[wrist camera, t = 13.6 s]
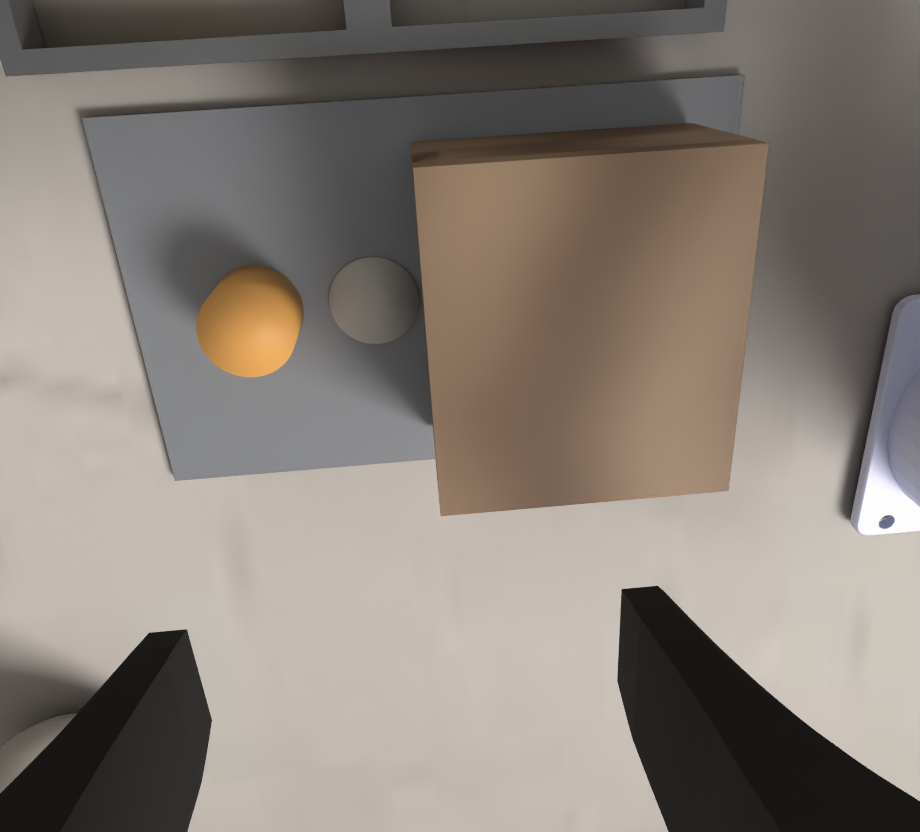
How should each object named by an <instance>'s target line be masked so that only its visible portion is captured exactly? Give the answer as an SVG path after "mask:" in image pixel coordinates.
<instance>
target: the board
mask: <svg viewBox="0 0 920 832" xmlns="http://www.w3.org/2000/svg"><path fill="white" fill-rule="evenodd" d="M743 84H744V75H730V76H715V77H699V78H684V79H669V80H653V81H638V82H623V83H607V84H592V85H577V86H561V87H546V88H530V89H515V90H500V91H484V92H469V93H454V94H438V95H423V96H408V97H392V98H377V99H362V100H346V101H331V102H316V103H300V104H285V105H270V106H254V107H239V108H224V109H208V110H193V111H178V112H162V113H147V114H132V115H116V116H101V117H85V118H82V121H83V125H84V129H85V133H86V137H87V141H88V145H89V149H90V152H91V156H92V160H93V164H94V168H95V172H96V176H97V180H98V184H99V187H100V191H101V195H102V199H103V203H104V207H105V211H106V215H107V219H108V222H109V226H110V230H111V234H112V238H113V242H114V246H115V250H116V254H117V257H118V261H119V265H120V269H121V273H122V277H123V281H124V285H125V289H126V292H127V296H128V300H129V304H130V308H131V312H132V316H133V320H134V324H135V327H136V331H137V335H138V339H139V343H140V347H141V351H142V355H143V359H144V362H145V366H146V370H147V374H148V378H149V382H150V386H151V390H152V394H153V397H154V401H155V405H156V409H157V413H158V417H159V421H160V425H161V429H162V432H163V436H164V440H165V444H166V448H167V452H168V456H169V460H170V464H171V467H172V471H173V475H174V479H175V481H179V480H191V479H202V478H214V477H226V476H238V475H250V474H262V473H273V472H285V471H297V470H309V469H321V468H332V467H344V466H356V465H368V464H380V463H392V462H403V461H415V460H427V459H436V457H435V446H434V435H433V423H432V406H431V394H430V381H429V369H428V356H427V344H426V331H425V319H424V306H423V294H422V282H421V269H420V257H419V244H418V232H417V219H416V207H415V194H414V182H413V173H412V162H411V150H410V142H415V141H430V140H444V139H459V138H474V137H489V136H504V135H518V134H533V133H548V132H563V131H578V130H592V129H607V128H622V127H637V126H652V125H666V124H681V123H694V124H698V125H702V126H706V127H709V128H713V129H717V130H721V131H725V132H728V133H732V134H736V135H739V125H740V114H741V104H742V94H743Z"/></svg>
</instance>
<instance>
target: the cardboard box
mask: <svg viewBox="0 0 920 832" xmlns="http://www.w3.org/2000/svg"><path fill="white" fill-rule="evenodd" d="M768 148H769V143H766V142H762V141H758V140H755V139H751V138H747V137H743V136H740V135H736V134H732V133H728V132H725V131H721V130H717V129H713V128H709V127H706V126H702V125H698V124H694V123H681V124H666V125H652V126H637V127H622V128H607V129H592V130H578V131H563V132H548V133H533V134H518V135H504V136H489V137H474V138H459V139H444V140H430V141H415V142H410V150H411V162H412V173H413V182H414V194H415V207H416V219H417V232H418V244H419V257H420V269H421V282H422V294H423V306H424V319H425V331H426V344H427V356H428V369H429V381H430V394H431V406H432V423H433V435H434V446H435V457H436V469H437V480H438V491H439V502H440V513H441V516H448V515H459V514H471V513H482V512H493V511H505V510H516V509H528V508H539V507H550V506H562V505H573V504H585V503H596V502H608V501H619V500H630V499H642V498H653V497H665V496H676V495H687V494H699V493H710V492H722V491H729V482H730V474H731V465H732V457H733V448H734V440H735V431H736V422H737V414H738V405H739V397H740V388H741V380H742V371H743V362H744V354H745V345H746V337H747V328H748V319H749V311H750V302H751V294H752V285H753V277H754V268H755V259H756V251H757V242H758V234H759V225H760V217H761V208H762V199H763V191H764V182H765V174H766V165H767V156H768Z"/></svg>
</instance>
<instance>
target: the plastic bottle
mask: <svg viewBox="0 0 920 832" xmlns="http://www.w3.org/2000/svg"><path fill="white" fill-rule="evenodd" d="M76 714H77V713H75V714H65V715H61V716H57V717H53V718H49V719H47V720H45V721H43V722H40V723H38V724H36V725H34V726H32V727H30V728H28V729H26V730H24V731H22V732H20V733H18V734H16V735H15V736H14V737H12V738H11V739H10V740H8V741H7V742H5V744H4V745H3V746H2V747H1V748H0V793H1V792H2V791H3V790H4V789H5V788H6V787H7V786H8V785H9V784H10V783H11V782H12V781H13V780H14V779H15V778H16V777H17V776H18V775H19V774H20V773H21V772H22V771H23V770H24V769H25V768H26V767H27V766H28V765H29V764H30V763H31V762H32V761H33V760H34V759H35V758H36V757H37V756H38V755H39V754H40V753H41V752H42V751H43V750H44V749H45V748H46V747H47V746H48V745H49V744H50V743H51V742H52V741H53V739H54V738H55V737H56V736H57V735H58V734H59V733H60V732H61V731H62V730H63V729H64V728H65V726H66V725H67V724H68V723H69V722H70V721H71V720H72V719H73V718H74V717H75V715H76Z"/></svg>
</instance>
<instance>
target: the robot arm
mask: <svg viewBox="0 0 920 832" xmlns="http://www.w3.org/2000/svg"><path fill="white" fill-rule="evenodd" d="M884 516H887V517H886V518H885V519H884V520H883V521H880V519H881V518H883V517H884ZM879 521H880V522H879ZM851 525H852V526H853V528H854V529H855V530H856V531H857V532H858V533H860V534H862V535H878V534H889V533H900V532H911V531H920V294H919V295H911V296H907V297H905V298H904V299H902V300H901V301H899V303H898V304H897V305H896V306H895V308H894V311H893V313H892V318H891V323H890V328H889V333H888V338H887V343H886V347H885V352H884V357H883V362H882V367H881V372H880V377H879V382H878V387H877V392H876V397H875V402H874V406H873V411H872V416H871V421H870V426H869V431H868V436H867V441H866V446H865V451H864V456H863V461H862V466H861V470H860V475H859V480H858V485H857V490H856V495H855V500H854V505H853V510H852V515H851ZM617 681H618V685H619V689H620V693H621V697H622V701H623V705H624V709H625V712H626V716H627V720H628V724H629V727H630V731H631V735H632V738H633V741H634V744H635V746H636V749H637V752H638V754H639V757H640V759H641V762H642V765H643V767H644V770H645V772H646V775H647V778H648V780H649V783H650V785H651V788H652V790H653V793H654V796H655V798H656V801H657V803H658V806H659V808H660V811H661V813H662V816H663V818H664V821H665V824H666V826H667V829H668V831H669V832H920V801H918V800H917V799H915V798H914V797H912V796H910V795H909V794H907V793H906V792H904V791H902V790H901V789H899V788H898V787H896V786H895V785H893V784H891V783H890V782H888V781H887V780H885V779H883V778H882V777H880V776H879V775H877V774H876V773H874V772H873V771H871V770H870V769H868V768H867V767H865V766H864V765H862V764H861V763H859V762H858V761H856V760H855V759H853V758H852V757H851V756H849V755H848V754H847V753H845V752H844V751H842V750H841V749H840V748H838V747H837V746H836V745H834V744H833V743H831V742H830V741H829V740H827V739H826V738H824V737H823V736H822V735H820V734H819V733H818V732H816V731H815V730H814V729H812V728H811V727H810V726H808V725H807V724H806V723H805V722H803V721H802V720H801V719H800V718H798V717H797V716H796V715H795V714H793V713H792V712H791V711H790V710H789V709H788V708H786V707H785V706H784V705H783V704H782V703H780V702H779V701H778V700H777V699H776V698H774V697H773V696H772V695H771V694H770V693H769V692H767V691H766V690H765V689H764V688H763V687H762V686H761V685H759V684H758V683H757V682H756V681H755V680H754V679H753V678H752V677H750V676H749V675H748V674H747V673H746V672H745V671H744V670H743V669H742V668H741V667H740V666H739V665H738V664H736V663H735V662H734V661H733V660H732V659H731V658H730V657H729V656H728V655H727V654H726V653H725V652H724V651H723V650H722V649H720V648H719V647H718V646H717V645H716V644H715V643H714V642H713V641H712V640H711V639H710V638H709V637H708V636H707V635H706V634H705V633H704V632H703V631H702V630H701V629H700V628H699V627H698V626H697V625H696V624H695V623H694V622H693V621H692V620H691V619H690V618H689V617H688V616H687V615H686V614H685V613H684V612H683V611H682V609H681V608H680V607H679V606H678V605H677V604H676V603H675V602H674V601H673V600H672V599H671V598H670V597H669V596H668V595H667V594H666V593H665V592H664V591H663V590H662V589H661V588H660V587H658V586H652V587H641V588H630V589H622V595H621V616H620V637H619V658H618V680H617ZM211 722H212V719H211V715H210V712H209V708H208V704H207V701H206V697H205V694H204V690H203V686H202V683H201V679H200V676H199V672H198V668H197V665H196V661H195V658H194V654H193V650H192V647H191V643H190V639H189V636H188V632H187V630H176V631H165V632H154V633H149V634H148V635H147V636H146V637H145V638H144V639H143V640H142V641H141V643H140V644H139V645H138V646H137V647H136V648H135V649H134V650H133V651H132V652H131V654H130V655H129V656H128V657H127V658H126V659H125V660H124V662H123V663H122V664H121V665H120V666H119V667H118V668H117V670H116V671H115V672H114V673H113V674H112V675H111V676H110V677H109V679H108V680H107V681H106V682H105V683H104V684H103V685H102V687H101V688H100V689H99V690H98V691H97V692H96V693H95V694H94V696H93V697H92V698H91V699H90V700H89V701H88V702H87V703H86V705H85V706H84V707H83V708H82V709H81V710H80V711H79V712H78V713H77V714H76V715H75V717H74V718H73V719H72V720H71V721H70V722H69V723H68V724H67V725H66V726H65V728H64V729H63V730H62V731H61V732H60V733H59V734H58V735H57V736H56V737H55V738H54V739H53V741H52V742H51V743H50V744H49V745H48V746H47V747H46V748H45V749H44V750H43V751H42V752H41V753H40V754H39V755H38V756H37V757H36V758H35V759H34V760H33V761H32V762H31V763H30V764H29V765H28V766H27V767H26V768H25V769H24V770H23V771H22V772H21V773H20V774H19V775H18V776H17V777H16V778H15V779H14V780H13V781H12V782H11V783H10V784H9V785H8V786H7V787H6V788H5V789H4V790H3V791H2V792H1V793H0V832H187V831H188V827H189V824H190V820H191V817H192V813H193V810H194V807H195V803H196V800H197V796H198V793H199V789H200V786H201V782H202V776H203V771H204V765H205V760H206V754H207V748H208V742H209V735H210V729H211Z"/></svg>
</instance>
